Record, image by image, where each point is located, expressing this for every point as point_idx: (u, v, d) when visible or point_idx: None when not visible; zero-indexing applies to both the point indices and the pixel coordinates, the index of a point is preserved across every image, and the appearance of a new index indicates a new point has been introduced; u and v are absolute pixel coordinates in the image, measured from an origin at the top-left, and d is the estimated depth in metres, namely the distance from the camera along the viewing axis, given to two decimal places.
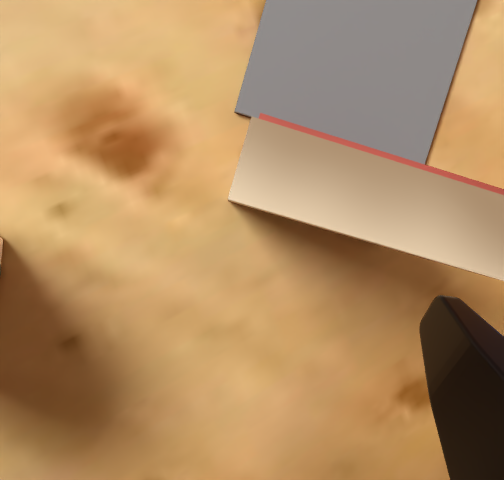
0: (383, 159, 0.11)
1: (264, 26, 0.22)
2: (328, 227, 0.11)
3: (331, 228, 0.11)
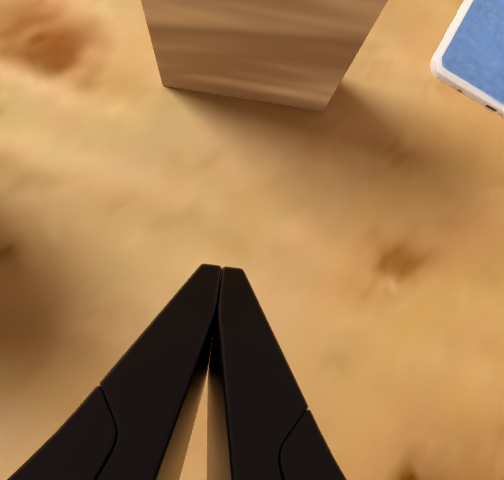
0: None
1: None
2: None
3: None
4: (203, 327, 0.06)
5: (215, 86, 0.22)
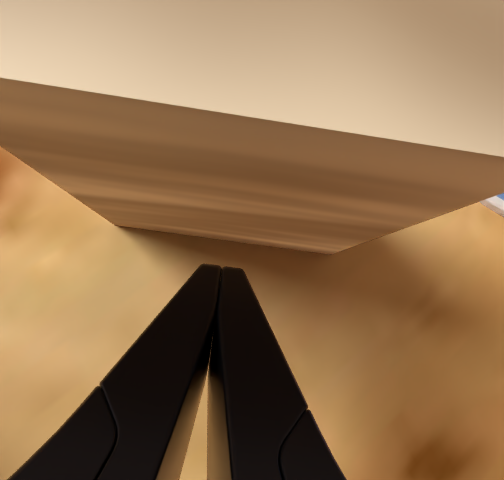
0: None
1: None
2: (114, 91, 0.05)
3: (121, 93, 0.05)
4: (203, 327, 0.06)
5: (184, 231, 0.16)
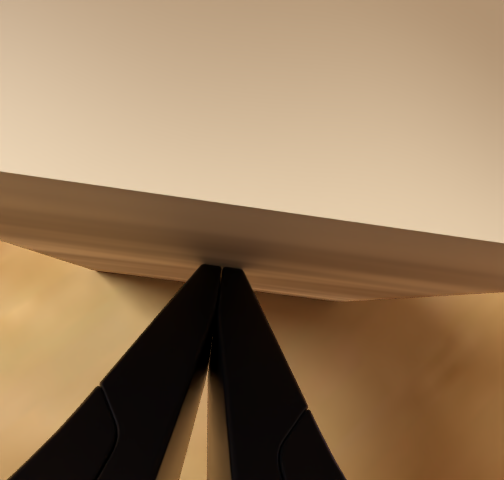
0: None
1: None
2: (21, 168, 0.03)
3: (34, 170, 0.03)
4: (203, 327, 0.06)
5: (172, 279, 0.14)
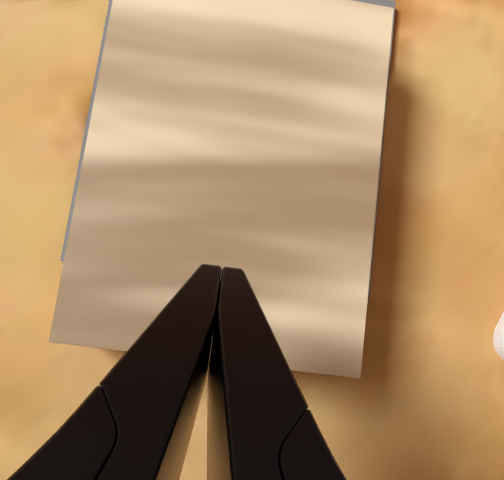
0: None
1: None
2: None
3: None
4: (203, 327, 0.06)
5: None
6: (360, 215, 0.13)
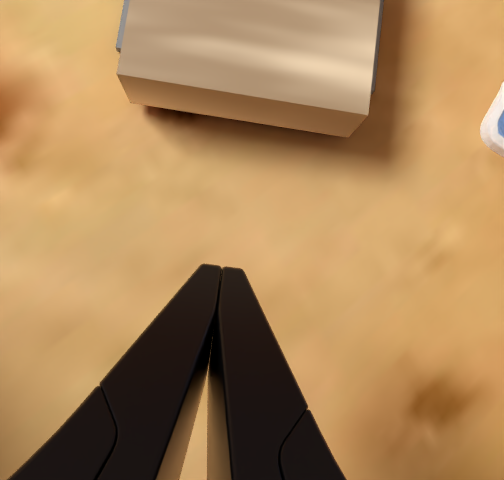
0: None
1: None
2: None
3: None
4: (203, 327, 0.06)
5: (203, 63, 0.15)
6: None
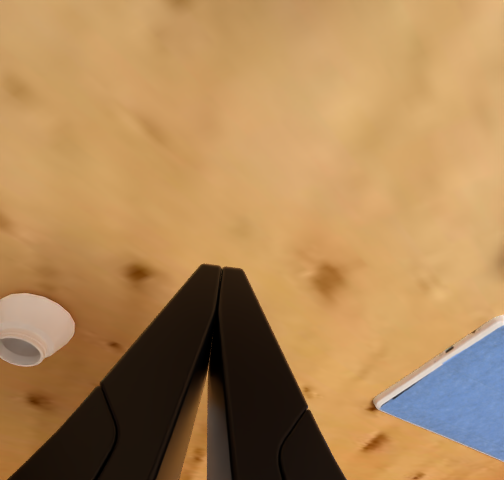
0: None
1: None
2: None
3: None
4: (203, 327, 0.06)
5: None
6: None
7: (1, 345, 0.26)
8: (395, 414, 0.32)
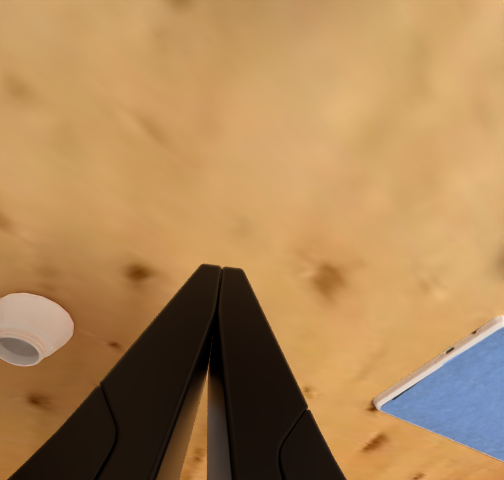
0: None
1: None
2: None
3: None
4: (203, 327, 0.06)
5: None
6: None
7: (0, 345, 0.26)
8: (395, 415, 0.32)
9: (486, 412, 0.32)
